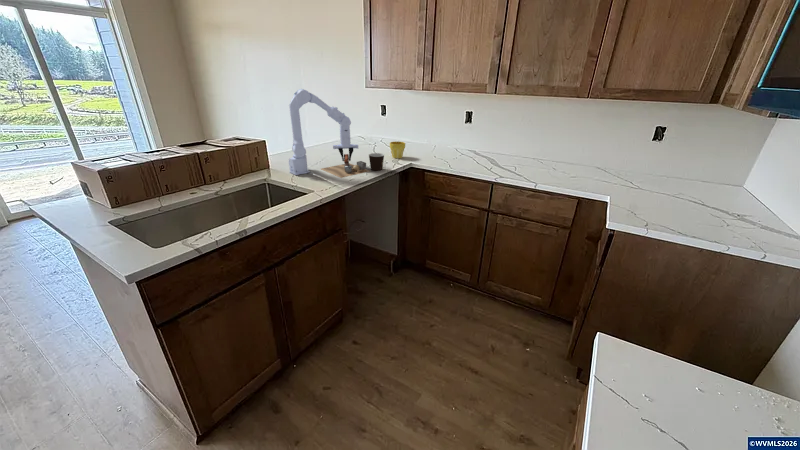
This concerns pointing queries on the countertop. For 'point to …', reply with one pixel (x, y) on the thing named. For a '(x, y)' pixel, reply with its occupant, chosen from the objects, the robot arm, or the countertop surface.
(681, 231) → the countertop surface
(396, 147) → the plant pot
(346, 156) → the lever
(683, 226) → the countertop surface
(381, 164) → the coffee mug
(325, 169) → the nutcracker base
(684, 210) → the countertop surface
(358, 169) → the walnut
